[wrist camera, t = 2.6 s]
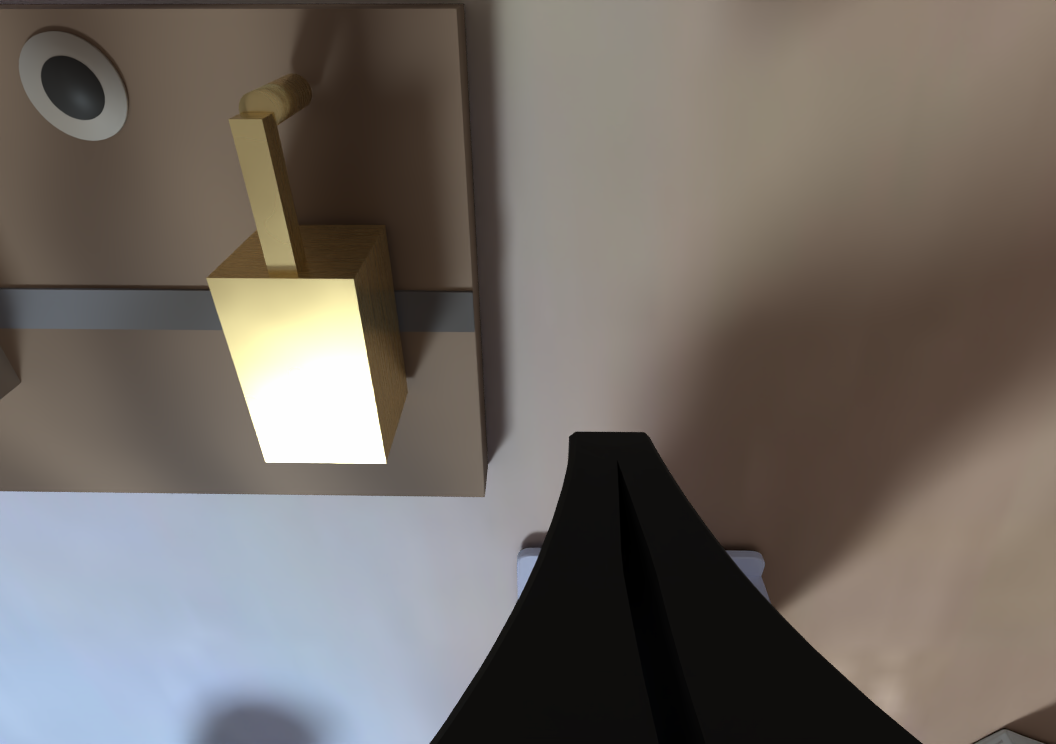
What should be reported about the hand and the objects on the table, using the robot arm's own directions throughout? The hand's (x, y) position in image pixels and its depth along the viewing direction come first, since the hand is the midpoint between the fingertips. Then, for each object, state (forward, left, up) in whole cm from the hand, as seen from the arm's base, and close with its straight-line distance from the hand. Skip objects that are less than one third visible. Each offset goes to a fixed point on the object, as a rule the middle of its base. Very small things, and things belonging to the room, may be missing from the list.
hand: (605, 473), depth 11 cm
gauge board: (+12, 0, -8) cm, 14 cm away
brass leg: (+6, -2, -6) cm, 9 cm away
